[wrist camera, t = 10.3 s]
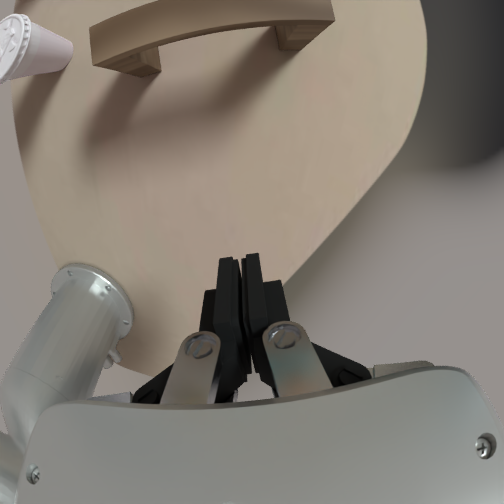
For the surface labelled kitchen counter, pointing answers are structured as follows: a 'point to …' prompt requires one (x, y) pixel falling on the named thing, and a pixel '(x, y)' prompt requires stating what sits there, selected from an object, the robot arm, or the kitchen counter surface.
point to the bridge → (199, 27)
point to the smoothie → (30, 49)
